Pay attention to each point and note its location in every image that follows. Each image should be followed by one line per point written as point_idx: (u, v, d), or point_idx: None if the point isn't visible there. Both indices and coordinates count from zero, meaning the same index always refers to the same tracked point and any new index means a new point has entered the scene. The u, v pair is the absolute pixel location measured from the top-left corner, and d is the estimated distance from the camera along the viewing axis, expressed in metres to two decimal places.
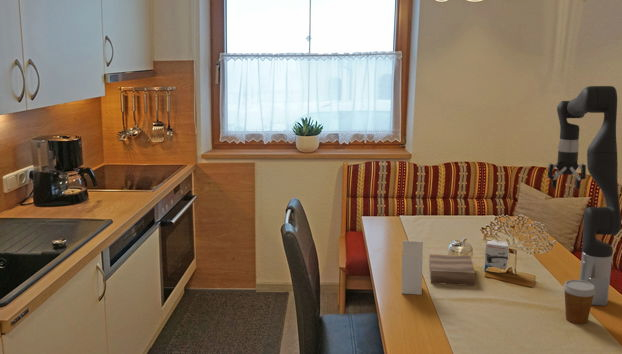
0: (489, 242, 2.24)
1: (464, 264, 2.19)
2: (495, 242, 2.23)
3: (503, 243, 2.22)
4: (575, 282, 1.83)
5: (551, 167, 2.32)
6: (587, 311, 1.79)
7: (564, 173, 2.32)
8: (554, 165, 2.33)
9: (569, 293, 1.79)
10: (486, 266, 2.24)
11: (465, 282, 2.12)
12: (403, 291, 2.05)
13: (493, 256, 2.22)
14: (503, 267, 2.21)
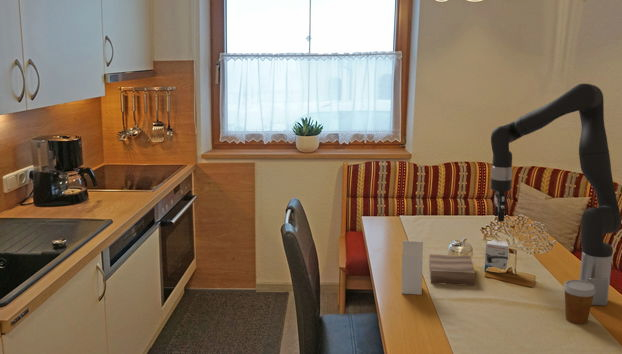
0: (489, 242, 2.24)
1: (464, 264, 2.19)
2: (495, 242, 2.23)
3: (503, 243, 2.22)
4: (575, 282, 1.83)
5: None
6: (587, 311, 1.79)
7: None
8: None
9: (569, 293, 1.79)
10: (486, 266, 2.24)
11: (465, 282, 2.12)
12: (403, 291, 2.05)
13: (493, 256, 2.22)
14: (503, 267, 2.21)
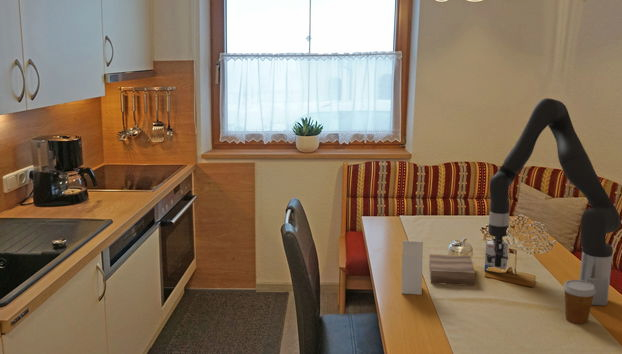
0: (489, 242, 2.24)
1: (464, 264, 2.19)
2: None
3: None
4: (575, 282, 1.83)
5: None
6: (587, 311, 1.79)
7: None
8: (500, 243, 2.18)
9: (569, 293, 1.79)
10: (486, 266, 2.24)
11: (465, 282, 2.12)
12: (403, 291, 2.05)
13: (493, 256, 2.22)
14: (503, 267, 2.21)
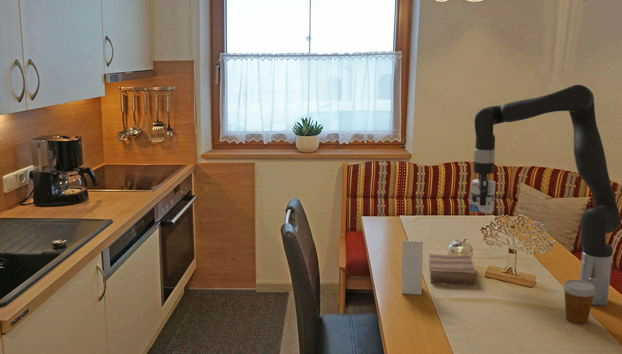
0: (474, 181, 2.18)
1: (464, 264, 2.19)
2: None
3: None
4: (575, 282, 1.83)
5: (487, 184, 2.11)
6: (587, 311, 1.79)
7: None
8: (485, 180, 2.12)
9: (569, 293, 1.79)
10: (471, 205, 2.19)
11: (465, 282, 2.12)
12: (403, 291, 2.05)
13: (478, 195, 2.16)
14: (488, 206, 2.15)
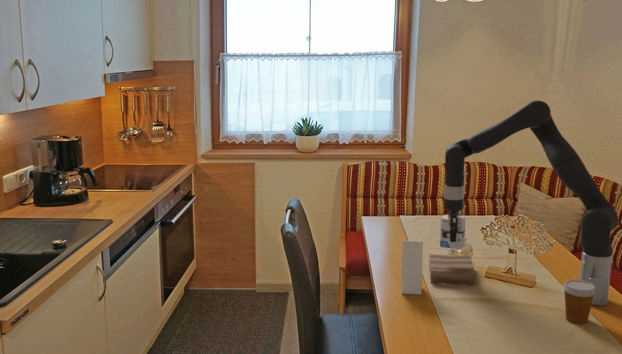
0: (444, 217, 2.18)
1: (464, 264, 2.19)
2: None
3: None
4: (575, 282, 1.83)
5: (457, 221, 2.11)
6: (587, 311, 1.79)
7: None
8: None
9: (569, 293, 1.79)
10: (441, 242, 2.18)
11: (465, 282, 2.12)
12: (403, 291, 2.05)
13: (448, 231, 2.16)
14: (458, 242, 2.15)
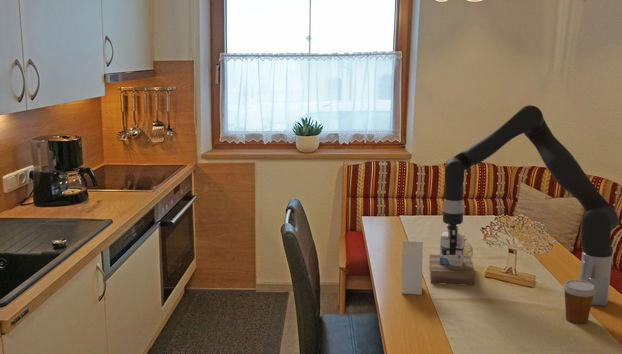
0: (444, 234, 2.18)
1: (464, 264, 2.19)
2: None
3: (458, 235, 2.17)
4: (575, 282, 1.83)
5: (456, 233, 2.11)
6: (587, 311, 1.79)
7: None
8: None
9: (569, 293, 1.79)
10: (441, 259, 2.19)
11: (465, 282, 2.12)
12: (403, 291, 2.05)
13: (448, 248, 2.17)
14: (458, 259, 2.16)
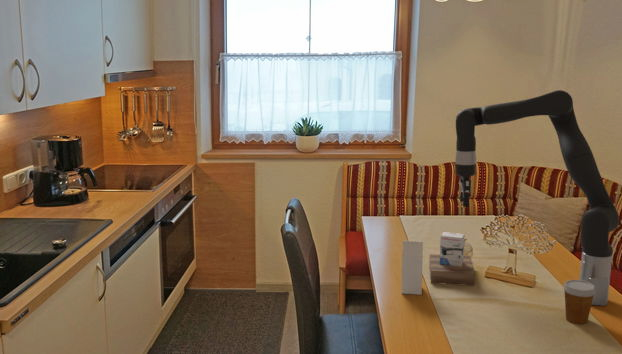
0: (444, 234, 2.18)
1: (464, 264, 2.19)
2: (450, 234, 2.18)
3: (458, 235, 2.17)
4: (575, 282, 1.83)
5: (470, 184, 2.09)
6: (587, 311, 1.79)
7: None
8: None
9: (569, 293, 1.79)
10: (441, 259, 2.19)
11: (465, 282, 2.12)
12: (403, 291, 2.05)
13: (448, 248, 2.17)
14: (458, 259, 2.16)
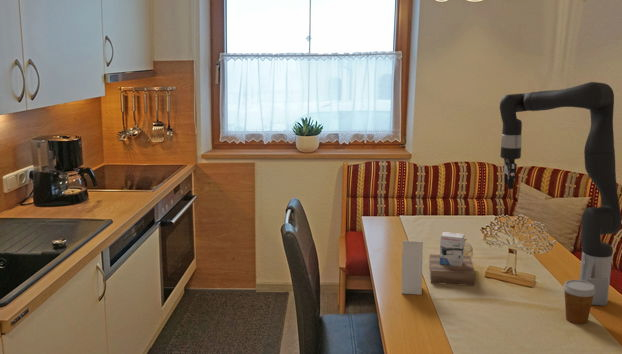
0: (444, 234, 2.18)
1: (464, 264, 2.19)
2: (450, 234, 2.18)
3: (458, 235, 2.17)
4: (575, 282, 1.83)
5: None
6: (587, 311, 1.79)
7: None
8: None
9: (569, 293, 1.79)
10: (441, 259, 2.19)
11: (465, 282, 2.12)
12: (403, 291, 2.05)
13: (448, 248, 2.17)
14: (458, 259, 2.16)
